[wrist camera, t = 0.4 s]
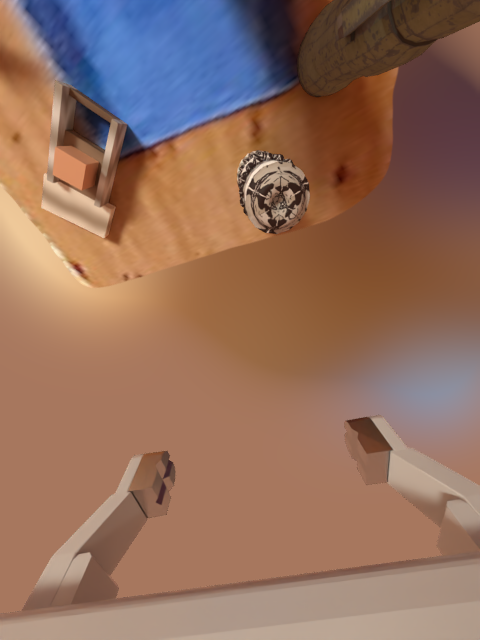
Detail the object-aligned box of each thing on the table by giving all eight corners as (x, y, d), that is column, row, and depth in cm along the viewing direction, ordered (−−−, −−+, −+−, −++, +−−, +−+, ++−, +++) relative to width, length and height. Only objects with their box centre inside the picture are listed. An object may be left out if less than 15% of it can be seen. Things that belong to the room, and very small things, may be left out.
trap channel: (60, 78, 36) (43, 71, 33) (135, 130, 40) (127, 129, 37) (48, 204, 47) (35, 210, 44) (108, 234, 52) (100, 241, 48)
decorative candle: (247, 209, 50) (261, 254, 31) (226, 164, 44) (227, 186, 25) (285, 186, 47) (326, 221, 28) (268, 137, 42) (304, 138, 23)
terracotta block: (71, 145, 39) (55, 146, 36) (99, 162, 41) (86, 164, 37) (68, 171, 42) (52, 174, 38) (94, 185, 44) (81, 190, 40)
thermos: (363, 73, 37) (719, -88, 10) (296, 113, 40) (440, 67, 13) (358, -9, 32) (1046, -759, 5) (281, 44, 35) (469, -270, 8)
